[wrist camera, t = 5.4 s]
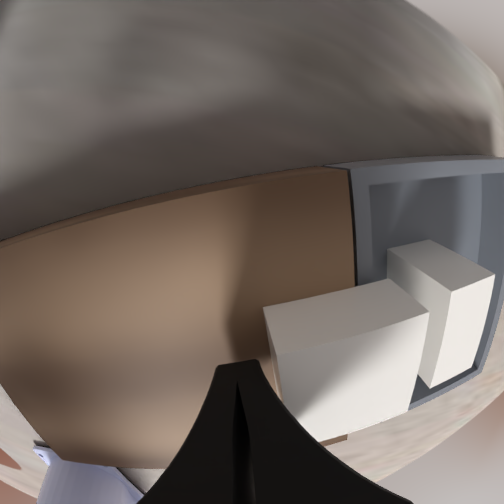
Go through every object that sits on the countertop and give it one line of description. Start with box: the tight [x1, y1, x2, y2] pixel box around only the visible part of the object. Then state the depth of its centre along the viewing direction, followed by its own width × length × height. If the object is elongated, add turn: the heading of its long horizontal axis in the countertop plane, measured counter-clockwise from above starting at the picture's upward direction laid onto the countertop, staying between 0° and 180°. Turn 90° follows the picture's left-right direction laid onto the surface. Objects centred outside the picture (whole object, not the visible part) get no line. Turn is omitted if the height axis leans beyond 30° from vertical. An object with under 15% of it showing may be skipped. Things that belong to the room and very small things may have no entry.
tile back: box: [387, 239, 495, 389], centre depth 11 cm, size 4×4×2 cm
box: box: [323, 155, 504, 410], centre depth 12 cm, size 13×10×3 cm
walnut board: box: [0, 166, 355, 469], centre depth 11 cm, size 13×17×3 cm
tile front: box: [263, 278, 429, 442], centre depth 9 cm, size 4×4×2 cm
